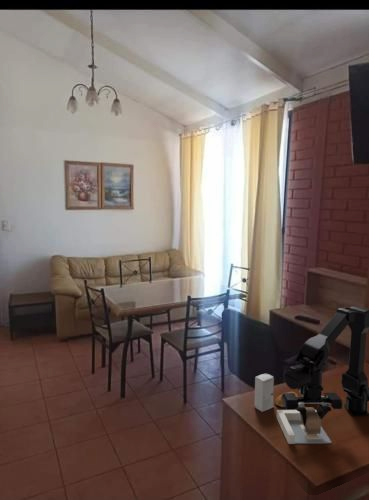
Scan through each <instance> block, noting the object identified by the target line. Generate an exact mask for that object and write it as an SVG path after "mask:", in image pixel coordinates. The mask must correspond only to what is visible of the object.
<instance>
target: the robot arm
mask: <svg viewBox="0 0 369 500" xmlns="http://www.w3.org/2000/svg"><path fill="white" fill-rule="evenodd" d="M347 326H348V327H349V329H350V343H349V357H348V369H346V371H345V372H343V373H342V374H341V382H340V384H341V387H342V390H343V392H344V393H346V397H345V401H344V402H345V404H344V402H343V400H342V399H341V397H340V396H339V395H338V393H336V392H324V394H323V395H322V391H324V387H323V385H322V384H323V368H325V367H327V366H328V364H327V363H326V361H327V358H328V357H329V355H330V353H331V346H332V345H333V343H334V342H335V341H336V340H337V338H338V337H339V336H341V334H342V333H343V331H344V330H345V329H346V328H347ZM368 331H369V309H367V308H364V307H360V306H357V305H352V306H351V307H345V306H344V307H338V308H337V310H336V313H335V314H334V315H333V317H332V318H331V319H330V320H329V321H328V323H327V324H326V325H325V326H324V327H323V329H322V330H320V332H318V334H317V335H315V336H313V337H310V338H308V339H307V340H306V341H305V342H304V343H303V344H302V346H301V347H300V349H299V351H298V353H297V356H296V358H295V360H294V363H296V364H297V365H291V366H289V370H286V371H285V373H284V375H283V376H284V381H285V384H286V385H287V387H288V388H289V389H291V390H298V391H299V390H300V392H299V394H300V395H301V396H298V397H296V396H295V395H294V393H288V392H283V393H282V394H283V395H282V402H283V404H284V406H285V407H284V408H285V410H297V411H299V412H300V415H301V418H302V422H303V424H304V425H305V424H306V411H307V410H306V409H305V404H308V405H311V404H313V405H314V404H316V411H317V412H316V413H317V414H318V416H319V417H320V419H321V421H322V420H323V419H324V417H326V415H327V414H328V413H329V412H331V411H332V408H333V410H342V409H343V408H344V407H345V408H346V410H347V411H348V413H349V414H350V415H351V416H369V412H368V404H369V403H368V402H369V380H368V376H367V375H366V373H365V357H366V347H367V346H366V343H367V333H368ZM302 395H303V396H302Z"/></svg>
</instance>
